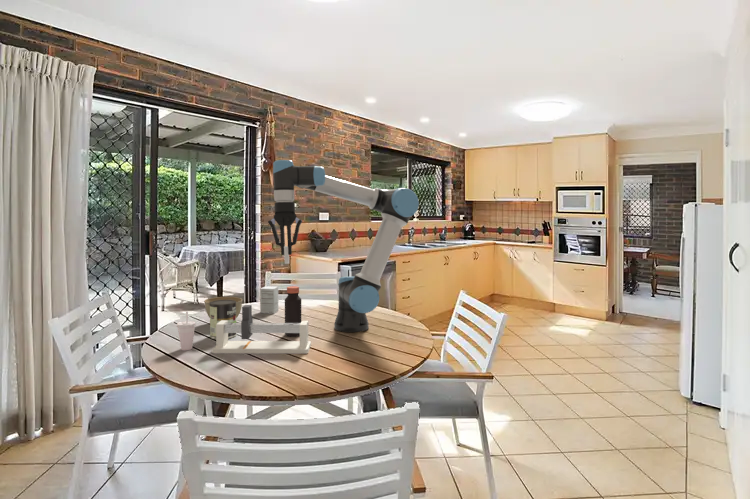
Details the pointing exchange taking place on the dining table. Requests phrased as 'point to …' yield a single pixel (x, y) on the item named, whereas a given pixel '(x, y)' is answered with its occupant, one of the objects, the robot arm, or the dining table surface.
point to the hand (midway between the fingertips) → (287, 263)
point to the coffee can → (222, 315)
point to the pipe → (264, 328)
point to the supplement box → (269, 299)
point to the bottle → (292, 308)
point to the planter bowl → (238, 300)
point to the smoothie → (186, 333)
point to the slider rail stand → (261, 343)
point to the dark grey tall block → (246, 321)
